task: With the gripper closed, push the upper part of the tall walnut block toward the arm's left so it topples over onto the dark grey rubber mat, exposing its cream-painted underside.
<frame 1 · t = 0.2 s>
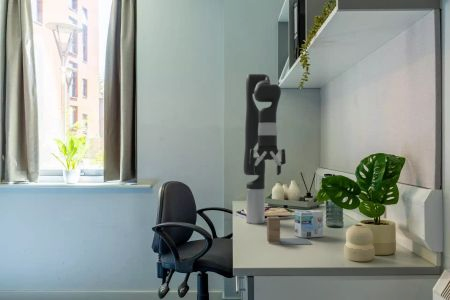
hand: (267, 175, 161), 27 cm above the table, tool pointing down, fingers open, 8 cm apart
light bulb box: (309, 236, 173), on the table, touching rubber mat
walnut block: (273, 242, 163), on the table
rubber mat: (294, 241, 164), on the table
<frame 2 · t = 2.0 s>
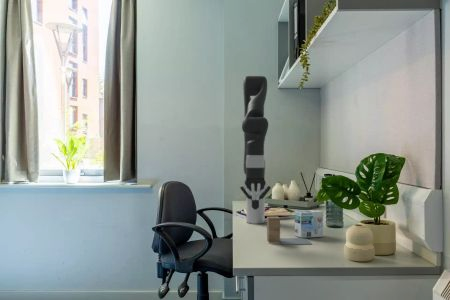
hand: (255, 209, 163), 13 cm above the table, tool pointing down, fingers closed
nothing on the table moved.
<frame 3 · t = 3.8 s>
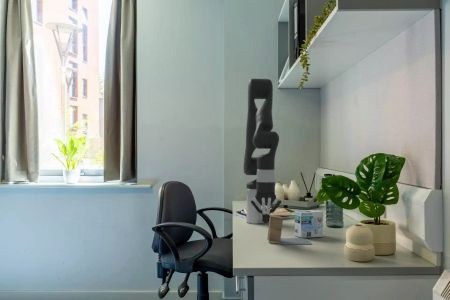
hand: (265, 223, 163), 8 cm above the table, tool pointing down, fingers closed
walnut block: (273, 241, 163), on the table, tilted 7°
everything else where it was.
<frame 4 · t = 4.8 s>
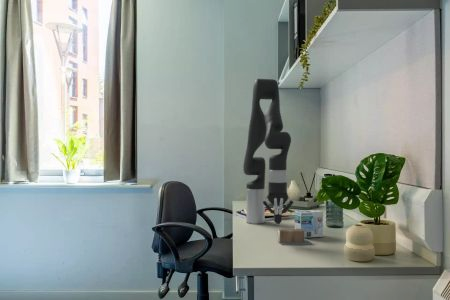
hand: (277, 223, 163), 8 cm above the table, tool pointing down, fingers closed
walnut block: (278, 235, 164), point 3 cm above the table, tilted 90°, touching rubber mat
everything else where it was.
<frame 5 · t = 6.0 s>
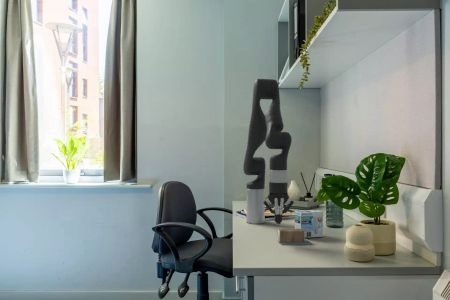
hand: (278, 223, 163), 7 cm above the table, tool pointing down, fingers closed
nothing on the table moved.
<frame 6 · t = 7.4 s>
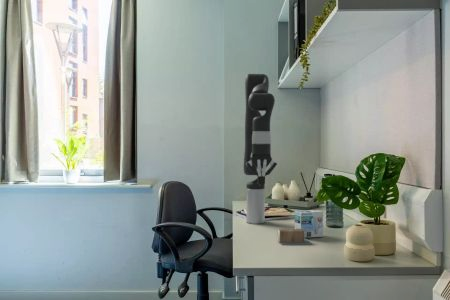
hand: (261, 185, 163), 23 cm above the table, tool pointing down, fingers closed
nothing on the table moved.
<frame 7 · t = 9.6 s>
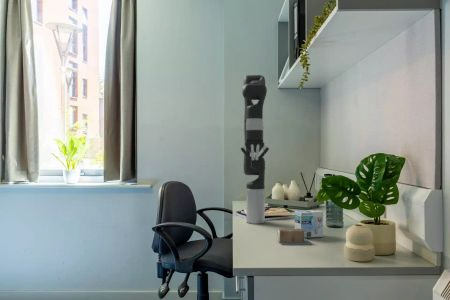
hand: (254, 168, 177), 29 cm above the table, tool pointing down, fingers closed
nothing on the table moved.
at the end: walnut block tilted 90°; walnut block inside the target area (1.8 cm from its centre), point 2.5 cm above the table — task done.
